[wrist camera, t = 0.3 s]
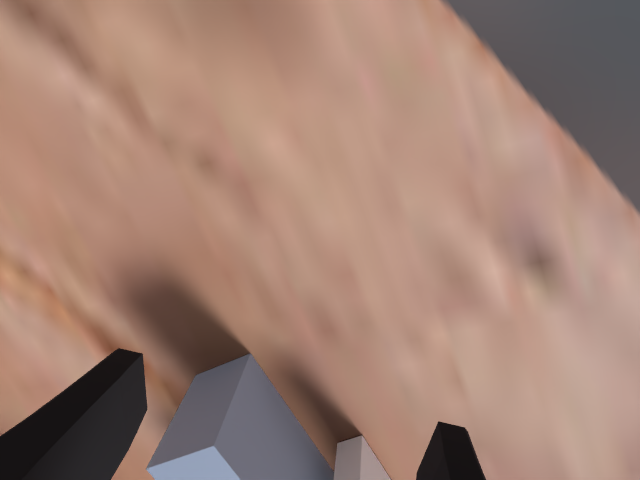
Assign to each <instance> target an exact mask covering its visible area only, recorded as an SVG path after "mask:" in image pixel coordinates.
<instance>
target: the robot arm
mask: <svg viewBox="0 0 640 480" xmlns="http://www.w3.org/2000/svg"><path fill="white" fill-rule="evenodd" d="M146 411H147V399H146V387H145V375H144V364H143V354H142V353H137V352H133V351H129V350H124V349H120V348H119V349H117V350H115V351H114V352H113V353H111V354H110V355H109V356H107V357H106V358H105V359H104V360H102V361H101V362H100V363H99V364H97V365H96V366H95V367H94V368H92V369H91V370H90V371H88V372H87V373H86V374H85V375H83V376H82V377H81V378H80V379H78V380H77V381H76V382H74V383H73V384H72V385H70V386H69V387H68V388H67V389H65V390H64V391H63V392H61V393H60V394H59V395H57V396H56V397H55V398H53V399H52V400H51V401H49V402H48V403H46V404H45V405H44V406H42V407H41V408H40V409H38V410H37V411H36V412H34V413H33V414H32V415H30V416H29V417H27V418H26V419H25V420H23V421H22V422H20V423H19V424H17V425H16V426H14V427H13V428H12V429H10V430H9V431H7V432H6V433H4V434H3V435H1V436H0V480H111V478H112V477H113V475H114V473H115V472H116V470H117V468H118V467H119V465H120V463H121V462H122V460H123V458H124V457H125V455H126V453H127V451H128V450H129V448H130V446H131V443H132V441H133V439H134V437H135V435H136V433H137V431H138V429H139V426H140V424H141V422H142V420H143V417H144V415H145V413H146ZM416 480H486V479H485V476H484V474H483V471H482V469H481V466H480V464H479V461H478V458H477V456H476V453H475V450H474V448H473V445H472V442H471V439H470V437H469V434H468V431H467V430H466V429H465V427H460V426H456V425H451V424H447V423H443V422H438V424H437V426H436V429H435V431H434V433H433V436H432V438H431V440H430V443H429V445H428V448H427V450H426V452H425V455H424V457H423V459H422V462H421V464H420V466H419V469H418V471H417V478H416Z"/></svg>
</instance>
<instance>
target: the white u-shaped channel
mask: <svg viewBox="0 0 640 480" xmlns="http://www.w3.org/2000/svg"><path fill="white" fill-rule="evenodd" d="M333 480H391V479H390V477H389V476H388V474H387V473H386V471H385V470H384V468H383V466H382V465H381V463H380V462H379V460H378V459H377V457H376V456H375V454H374V453H373V451H372V450H371V448H370V447H369V445H368V443H367V442H366V440H365V439H364V437H363V436H362V435H361V436H358V437H355V438H352V439H349V440H345V441H342V442H339V443H337V451H336V461H335V470H334V479H333Z"/></svg>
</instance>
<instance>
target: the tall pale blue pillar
mask: <svg viewBox="0 0 640 480" xmlns="http://www.w3.org/2000/svg"><path fill="white" fill-rule="evenodd" d="M146 470H147V471H148V472H149V473H150V474H151V475H152V476H153V478H154V479H155V480H333V479H334V471H333V470H332V469H331V467H330V466H329V464H328V463H327V461H326V460H325V459H324V457H323V456H322V454H321V453H320V451H319V450H318V449H317V447H316V446H315V444H314V443H313V441H312V440H311V439H310V437H309V436H308V434H307V433H306V432H305V430H304V429H303V427H302V426H301V424H300V423H299V422H298V420H297V419H296V417H295V416H294V414H293V413H292V412H291V410H290V409H289V407H288V406H287V404H286V403H285V402H284V400H283V399H282V397H281V396H280V394H279V393H278V392H277V390H276V389H275V387H274V386H273V384H272V383H271V382H270V380H269V379H268V377H267V376H266V374H265V373H264V372H263V370H262V369H261V367H260V366H259V364H258V363H257V362H256V360H255V359H254V357H253V356H252V354H251V353H250V354H248V355H245V356H243V357H240V358H238V359H235V360H233V361H230V362H228V363H225V364H223V365H220V366H217V367H215V368H212V369H210V370H207V371H205V372H202V373H200V374H197V375H196V376H195V377H194V379H193V381H192V383H191V385H190V387H189V389H188V391H187V393H186V394H185V396H184V398H183V400H182V402H181V404H180V406H179V408H178V409H177V411H176V413H175V415H174V417H173V419H172V421H171V423H170V424H169V426H168V428H167V430H166V432H165V434H164V436H163V438H162V440H161V441H160V443H159V445H158V447H157V449H156V451H155V453H154V455H153V456H152V458H151V460H150V462H149V464H148V466H147V468H146Z"/></svg>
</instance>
